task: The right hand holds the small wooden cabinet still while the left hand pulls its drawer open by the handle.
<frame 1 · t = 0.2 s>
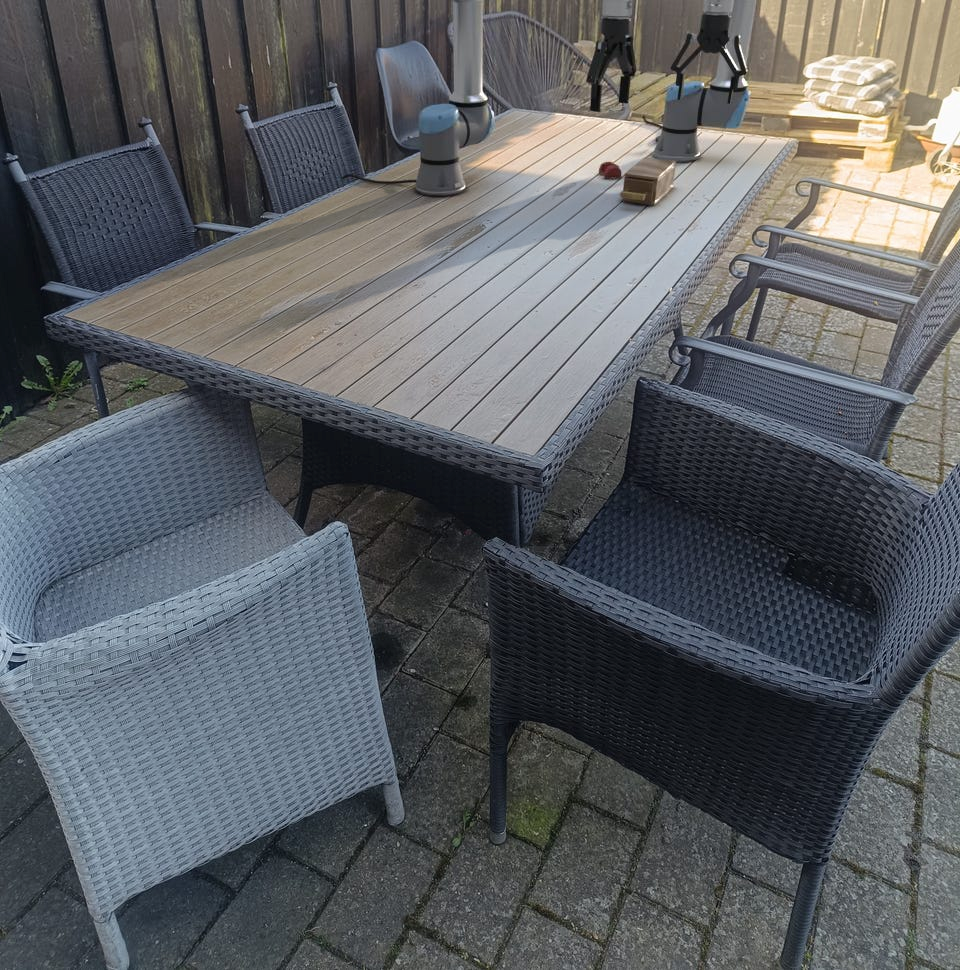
left hand: (609, 107, 226), 28 cm above the table, tool pointing down, fingers open, 13 cm apart
right hand: (704, 100, 232), 28 cm above the table, tool pointing down, fingers open, 13 cm apart
drawer: (644, 185, 249), point 4 cm above the table, slide at 0.8 cm
dental model: (609, 176, 270), on the table
cabinet: (647, 194, 255), on the table
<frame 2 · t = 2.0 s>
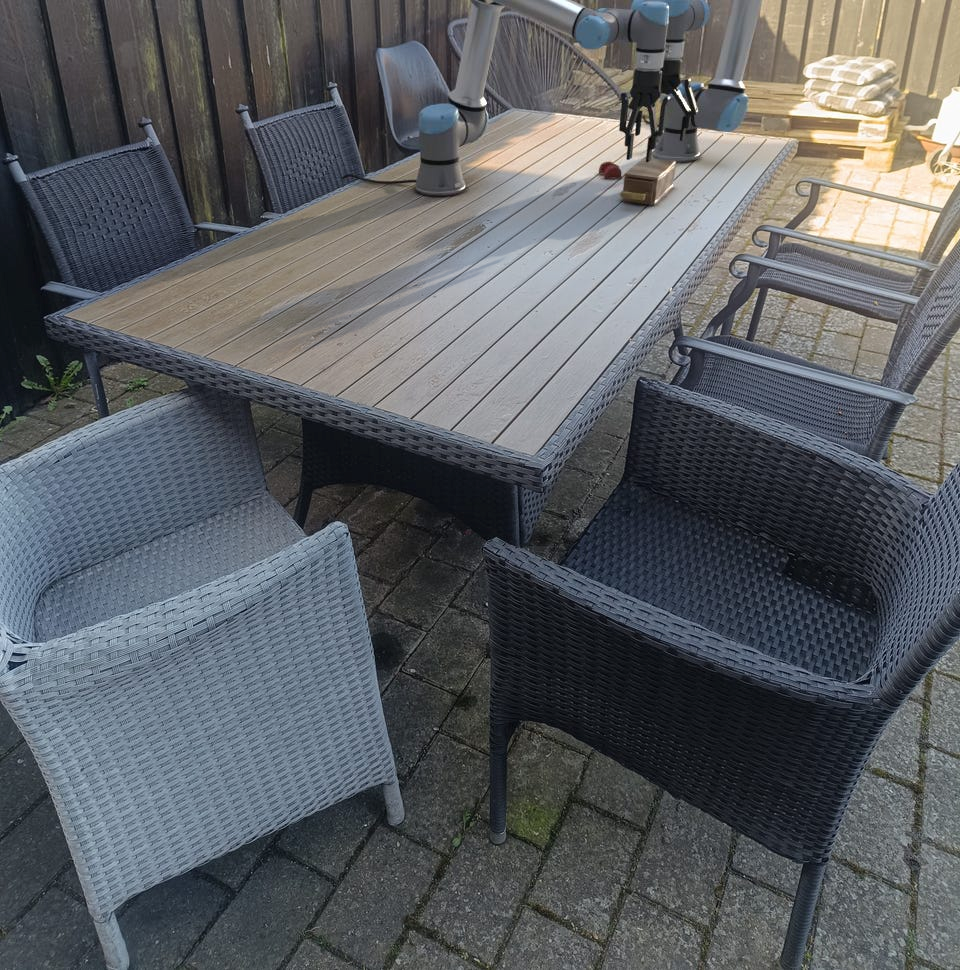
left hand: (638, 159, 237), 13 cm above the table, tool pointing down, fingers open, 5 cm apart
right hand: (659, 137, 250), 15 cm above the table, tool pointing down, fingers open, 13 cm apart
nothing on the table moved.
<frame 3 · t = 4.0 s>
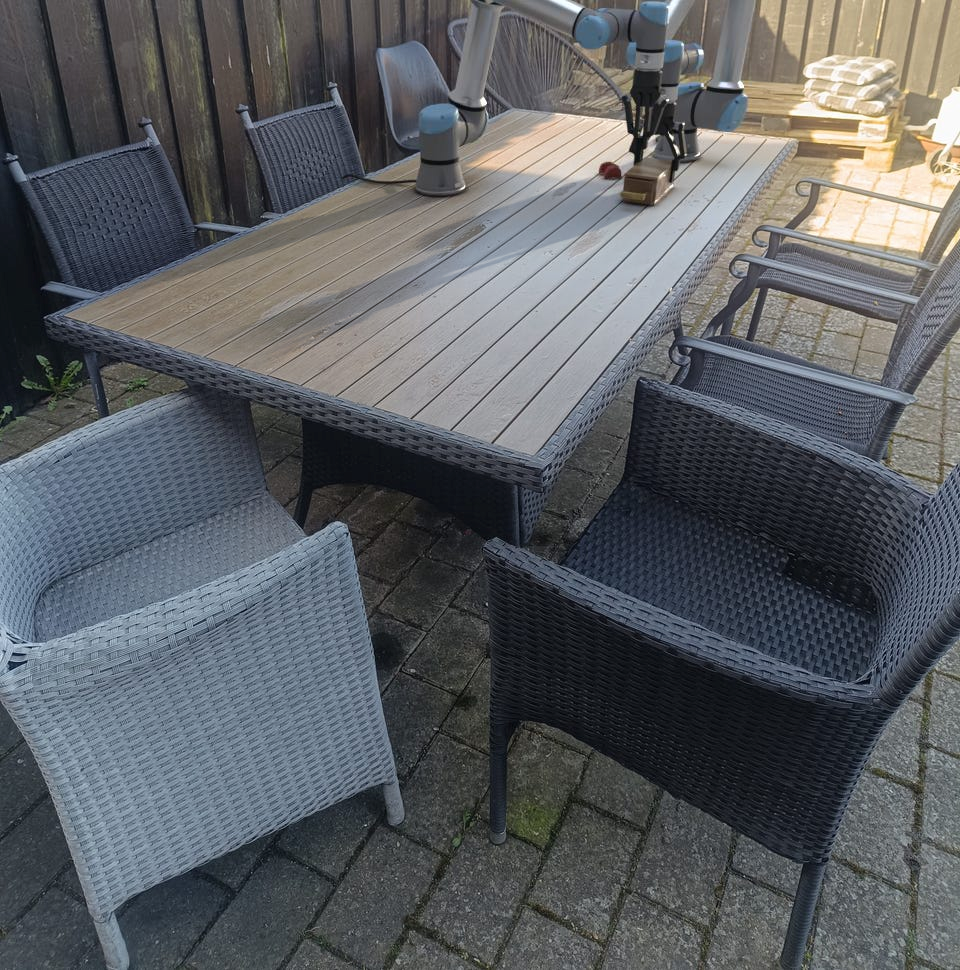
left hand: (638, 160, 237), 13 cm above the table, tool pointing down, fingers closed
right hand: (654, 179, 257), 3 cm above the table, tool pointing down, fingers closed on cabinet, 10 cm apart
cabinet: (647, 194, 255), on the table, touching right hand
everything else where it was.
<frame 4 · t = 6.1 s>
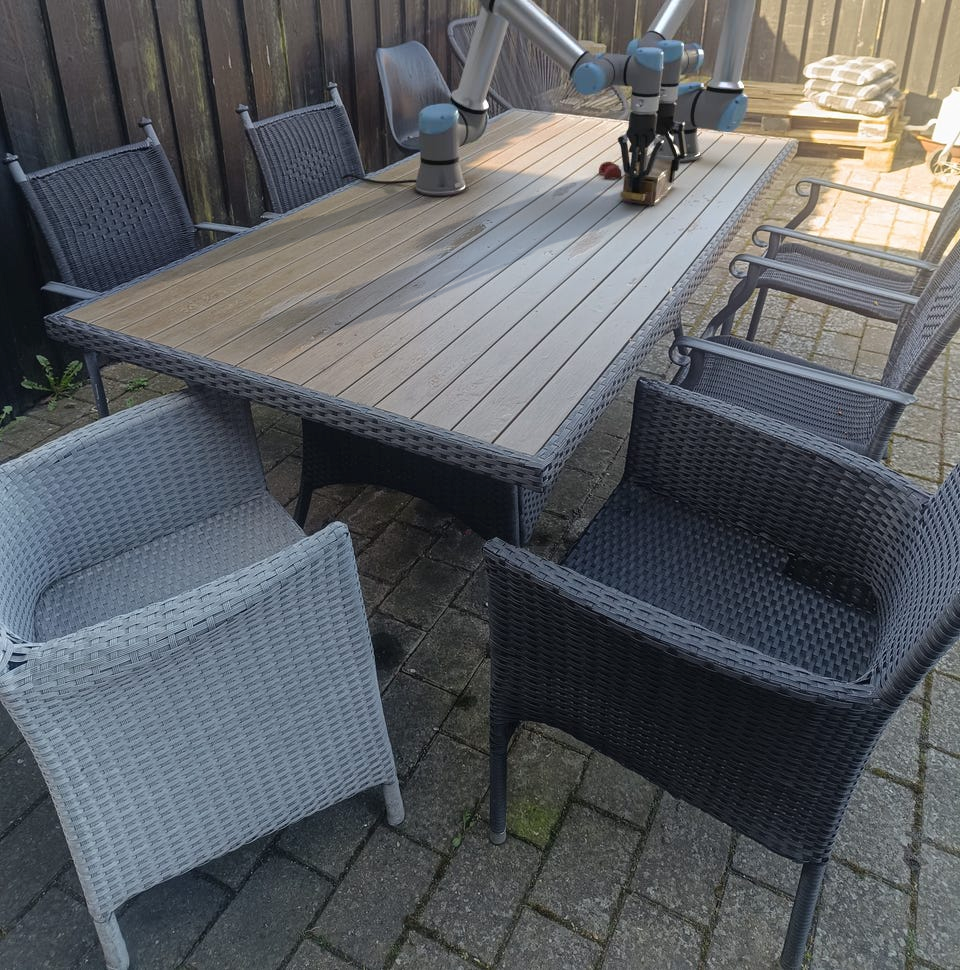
left hand: (634, 198, 243), 2 cm above the table, tool pointing down, fingers closed
right hand: (654, 179, 257), 3 cm above the table, tool pointing down, fingers closed on cabinet, 10 cm apart
drawer: (644, 185, 248), point 4 cm above the table, slide at 0.9 cm, touching left hand
cabinet: (647, 194, 255), on the table, touching right hand
everything else where it was.
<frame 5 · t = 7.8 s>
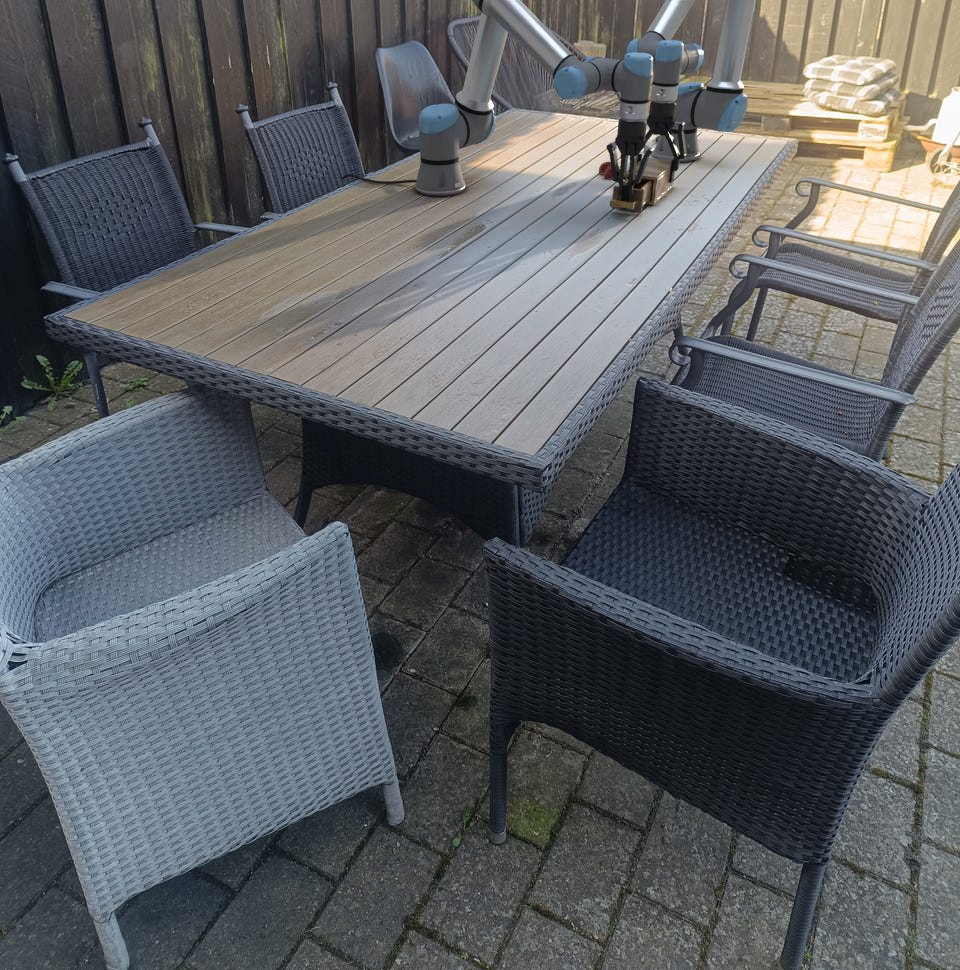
left hand: (624, 207, 237), 2 cm above the table, tool pointing down, fingers closed
right hand: (654, 179, 257), 3 cm above the table, tool pointing down, fingers closed on cabinet, 10 cm apart
drawer: (634, 193, 242), point 4 cm above the table, slide at 9.8 cm, touching left hand
cabinet: (647, 194, 255), on the table, touching right hand
everything else where it was.
when the right hand's fingers open (3 cm above the table, at t = 9.3 s): cabinet stays where it is, on the table.
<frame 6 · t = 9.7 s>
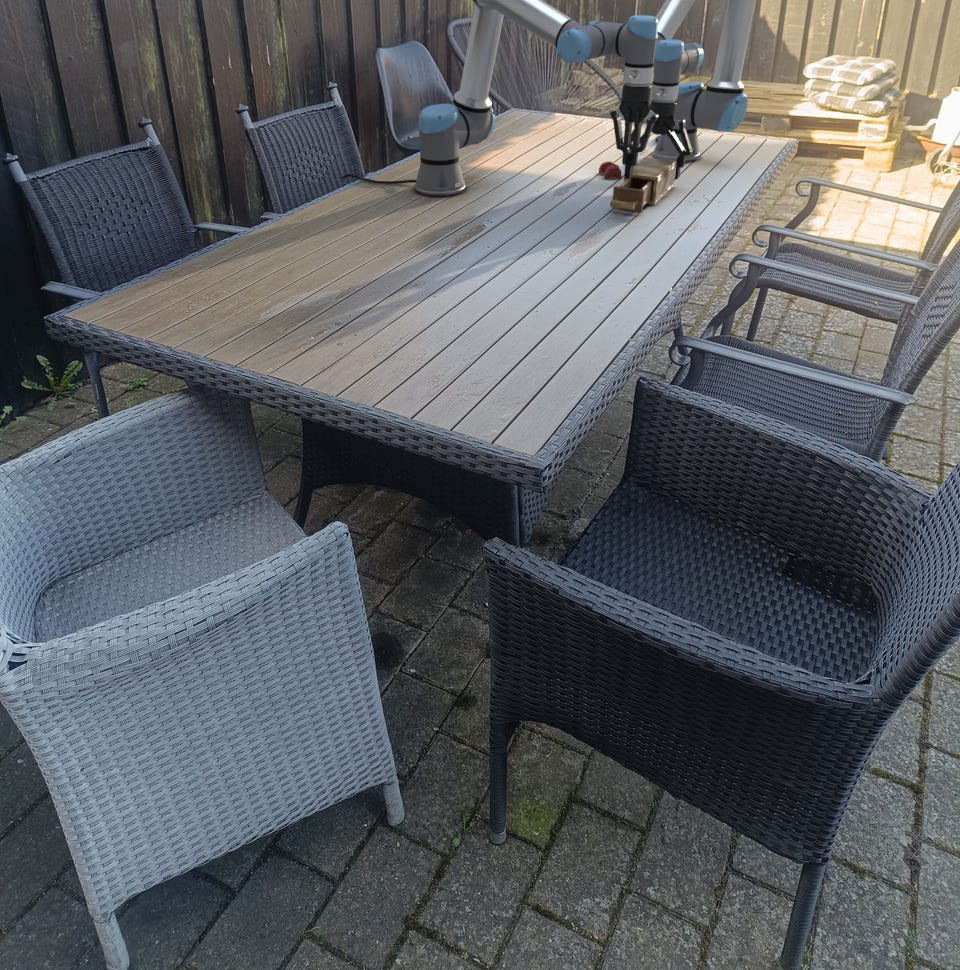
left hand: (628, 177, 232), 11 cm above the table, tool pointing down, fingers closed
right hand: (655, 175, 256), 4 cm above the table, tool pointing down, fingers open, 13 cm apart
drawer: (634, 193, 242), point 4 cm above the table, slide at 9.9 cm
cabinet: (647, 194, 255), on the table
everything else where it was.
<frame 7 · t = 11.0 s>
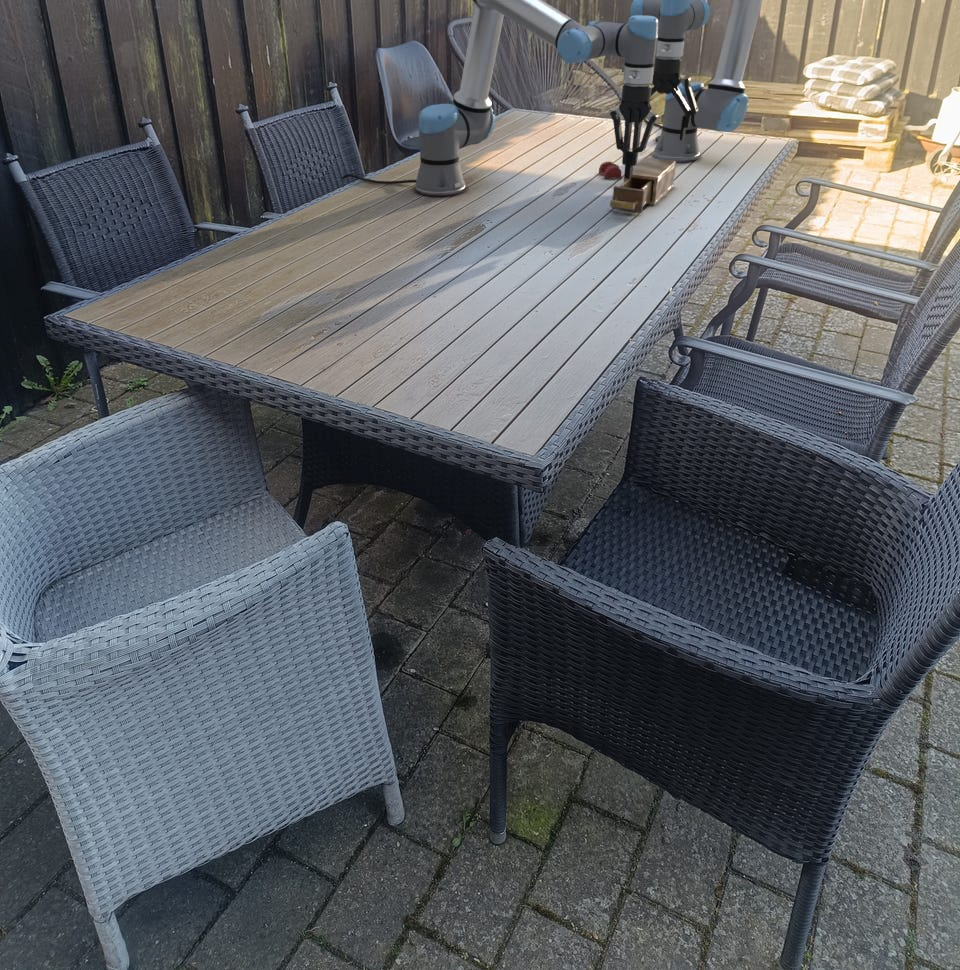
left hand: (628, 177, 232), 11 cm above the table, tool pointing down, fingers closed
right hand: (659, 136, 250), 15 cm above the table, tool pointing down, fingers open, 13 cm apart
nothing on the table moved.
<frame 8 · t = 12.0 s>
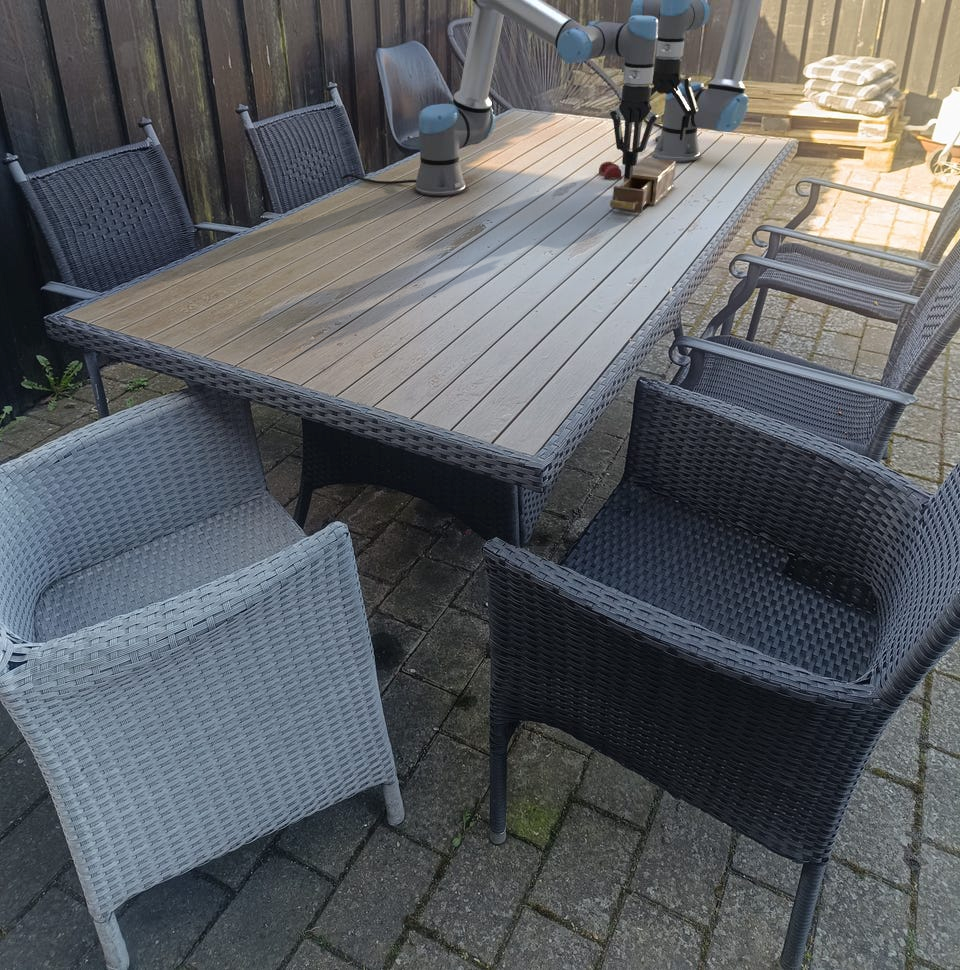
left hand: (628, 177, 232), 11 cm above the table, tool pointing down, fingers closed
right hand: (659, 136, 250), 15 cm above the table, tool pointing down, fingers open, 13 cm apart
nothing on the table moved.
at the end: drawer slide at 9.9 cm; cabinet tilted 0°; cabinet never tilted more than 1° during the clip; cabinet moved 0.0 cm from its start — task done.
